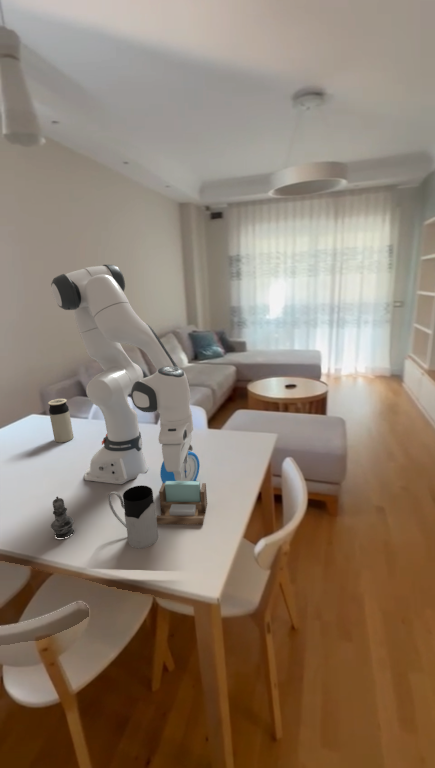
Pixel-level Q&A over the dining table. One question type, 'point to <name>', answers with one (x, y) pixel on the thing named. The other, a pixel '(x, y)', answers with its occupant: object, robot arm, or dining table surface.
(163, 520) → the rack
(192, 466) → the alarm clock
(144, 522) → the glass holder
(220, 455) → the dining table surface
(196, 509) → the oak offcut
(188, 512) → the grey offcut
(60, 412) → the travel mug
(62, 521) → the dark grey figurine
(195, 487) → the panel
